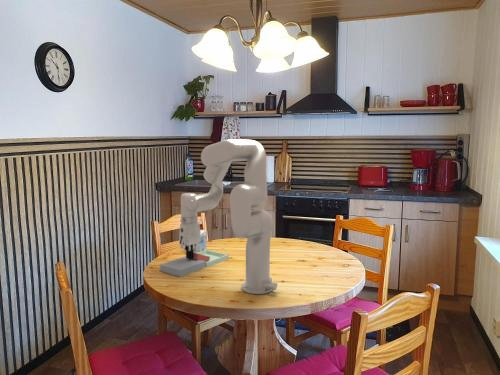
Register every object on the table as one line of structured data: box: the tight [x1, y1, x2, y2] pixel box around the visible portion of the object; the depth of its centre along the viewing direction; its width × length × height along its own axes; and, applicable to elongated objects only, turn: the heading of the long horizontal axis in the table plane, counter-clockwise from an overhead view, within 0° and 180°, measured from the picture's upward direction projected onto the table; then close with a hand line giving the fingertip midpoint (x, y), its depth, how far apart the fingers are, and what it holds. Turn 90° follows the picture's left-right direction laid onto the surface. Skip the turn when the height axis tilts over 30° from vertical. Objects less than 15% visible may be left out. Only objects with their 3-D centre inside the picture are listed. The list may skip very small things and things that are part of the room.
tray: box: [197, 249, 230, 268], centre depth 191 cm, size 15×16×2 cm
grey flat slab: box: [159, 255, 207, 278], centre depth 177 cm, size 13×16×3 cm
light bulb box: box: [193, 229, 208, 253], centre depth 205 cm, size 11×7×11 cm, turn 168°
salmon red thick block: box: [193, 253, 210, 261], centre depth 186 cm, size 6×9×2 cm, turn 144°
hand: (189, 258), depth 181 cm, fingers closed
